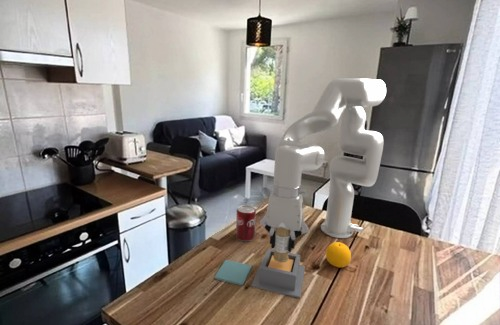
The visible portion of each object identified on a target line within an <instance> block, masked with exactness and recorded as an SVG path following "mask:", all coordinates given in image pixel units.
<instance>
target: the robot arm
mask: <svg viewBox="0 0 500 325" xmlns="http://www.w3.org/2000/svg"><path fill="white" fill-rule="evenodd" d="M386 95H387V87H386V83H385V82H384V81H383V80H382V79H375V78H373V79H372V78H359V77H358V78H355V77H354V78H349V77H348V78H346V77H345V78H335V79H333V80H331V81H330V82H329V83H328V84H327V85H326V87H325V88H324V91H323V92H322V94H321V96H320V97H319V99H318V101H317V103H316V104H315V106H314V108H313V109H312V111H310V113H307V114H305V115H304V116H302V117H301V118H299V119H298V120H296V121H295V122H293V123H292V124H291V125H290V126H289V127H288V128H287V129H286V130H285V131H284V134H283V135H282V137H281V139H280V141H279V142H278V145H277V147H276V149H275V154H274V171H273V183H272V185H273V186H272V187H273V188H272V190H271V191H270V193H269V198H268V202H267V209H266V214H265V215H264V216H262V217H261V219H260V220H259V224H260V225H261V226H263V228H264V229H265V230H266V232H267V233H268V235H269V244H270V246H271V247H270V249H274V245H275V233H276V228H279V225H280V224H281V223H284V224H285V229H287V230H290V239H289V249H288V251H289V253H292V249H295V245H296V244H295V243H296V239H297V238H299V237H300V236H302V235H304V234H307V233H308V232H309V227H308V225H307V224H306V221H305V220H304V218H303V216H304V199H303V195H302V194H306V190H307V189H306V188H304V187H302V185H301V183H302V177H303V176H302V175H303V174H302V173H303V172H308V171H309V172H310V171H315V170H317V169H319V168H321V167H322V166H323V164H324V162H325V160H326V154H325V151H324V149H323V148H322V147H321V146H319V145H317V144H313V143H308V142H303V141H302V139H303V138H305V137H307V136H310V135H312V134H317V133H321V132H322V133H323V132H325V131H328V130H331V129H333V128H335V127H336V126H337V125H338V123H339V121H340V120H341V121H340V126H339V131H338V132H339V134H338V138H337V149H338V150H339V151H341V152H343V153H346V154H350V155H355V156H356V155H357V156H360V157H361V156H362V157H364V159H361V158H356V157H352V156H346V155H337V156H334V157H332V159H331V160H330V163H329V168H328V170H329V189H328V190H329V191H328V199H327V207H326V215H325V221H324V222H322V224H320V229H321V231H322V232H323V233H324V234H325V235H328V236H330V237H332V238H336V239H348V238H351V237H352V236H353V233H354V232H357V233H358V232H359V233H362V232H363V227H362V226H359V224H356V223H352V221H351V218H352V214H353V212H352V211H353V206H354V199H355V189H354V186H353V184H354V185H359V186H362V187H368V188H369V187H373V186H374V185H375V183H376V182H377V180H378V176H379V170H380V166H381V162H382V161H381V160H382V156H383V151H384V143H385V142H384V136H383V134H381V133H380V132H378V131H375V130H367V129H365V128H366V127H365V124H366V120H367V115H366V112H365V110H364V108H371V107H376V106H379V105H380V104H381V103H382V102H383V101H384V100H385V97H386ZM282 228H284V227H282Z"/></svg>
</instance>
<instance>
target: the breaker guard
mask: <svg viewBox="0 0 500 325" xmlns="http://www.w3.org/2000/svg"><path fill="white" fill-rule="evenodd" d="M272 255H273V256H274V248H267V251H266V253H265V255H264V256H263V258H262V260H261V262H260V265H259V267H258V269H257V271H256V273H255V276H254V277H253V278H254V279H253V281H252V283H251V287H252V288H256V289H259V290H264V291H268V292H272V293H276V294H279V295H285V296H287V297H288V296H289V297H292V298H295V299H301V296H302V295H301V294H302V290H303V284H304V279H305V278H304V277H305V271H306V266H305V265H303V264H302V265H301V264H300V262H301V254H297V253H292V252H289V253H288V257H289V258H288V259H292V260H294V261H293V267H292V271H291V272H288V271H284V270H279V269H275V268H270V267H268V265H269V263H270V260H271V257H272Z"/></svg>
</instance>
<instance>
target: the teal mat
mask: <svg viewBox="0 0 500 325" xmlns="http://www.w3.org/2000/svg"><path fill="white" fill-rule="evenodd" d="M252 268H253V266H252V265H251V264H247V263H242V262H238V261H234V260H229V259H225V260H224V261H223V263H222V264H221V267H220V268H219V269H218V271H217V272H216V273H215V275H214V279H215V280H219V281H223V282H227V283H229V284H230V283H231V284H234V285H239V286H244V284H245V282H246V280H247V278H248V276H249V274H250V271H251V270H252Z"/></svg>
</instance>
